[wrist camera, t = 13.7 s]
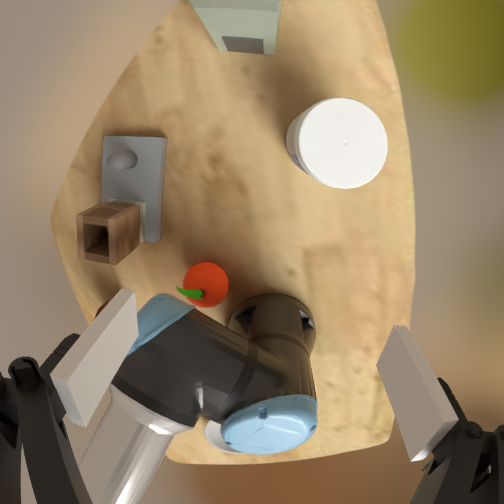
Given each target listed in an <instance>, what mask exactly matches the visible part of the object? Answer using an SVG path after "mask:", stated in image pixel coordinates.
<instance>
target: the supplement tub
mask: <svg viewBox="0 0 504 504" xmlns="http://www.w3.org/2000/svg"><path fill="white" fill-rule="evenodd" d="M286 147H287V151H288V154H289V156H290V158H291V159H292V161H293V162H294V163H295V164H296V165H297V166H298V167H299V168H300V169H302V170H303V171H304V172H306V173H307V174H308V175H310V176H311V177H312V178H314V179H315V180H317V181H319V182H320V183H322V184H325V185H327V186H331V187H336V188H343V189H348V188H355V187H359V186H361V185H363V184H365V183H367V182H369V181H370V180H371V179H373V178H374V177H375V176H376V175H377V174H378V172H379V171H380V170H381V168H382V166H383V164H384V162H385V159H386V155H387V148H388V143H387V135H386V131H385V128H384V126H383V124H382V122H381V120H380V119H379V117H378V116H377V115H376V113H375V112H374V111H373V110H372V109H371V108H369V107H368V106H367V105H365V104H363V103H362V102H360V101H357V100H355V99H351V98H346V97H335V98H328V99H325V100H322V101H319V102H317V103H316V104H314V105H312V106H311V107H309V108H308V109H307V110H305V111H304V112H303V113H301V114H300V115H299V116H297V117H296V118H295V119H294V120H293V121H292V123H291V124H290V126H289V128H288V131H287V135H286Z"/></svg>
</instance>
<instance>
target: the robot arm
mask: <svg viewBox="0 0 504 504" xmlns="http://www.w3.org/2000/svg"><path fill="white" fill-rule="evenodd" d="M315 339H316V328H315V324H314V319H313V317H312V315H311V313H310V311H309V310H308V309H307V307H306V306H305V305H304V304H302V303H301V302H300V301H298V300H296V299H294V298H292V297H290V296H287V295H283V294H273V293H272V294H262V295H258V296H254V297H252V298H250V299H248V300H246V301H244V302H243V303H242V304H240V305H239V306H238V307H237V308H236V309H235V311H234V312H233V314H232V316H231V318H230V321H229V325H228V328H227V327H225V326H224V325H222V324H220V323H219V322H217V321H215V320H214V319H212V318H210V317H208V316H207V315H205V314H203V313H202V312H200V311H199V310H197V309H195V306H194V305H188V304H187V303H185V302H183V301H181V300H179V299H178V298H176V297H174V296H172V295H170V294H167V293H160V294H157V295H155V296H154V297H152V298H151V299H150V300H149V301H148V302H147V303H146V304H145V305H144V306H143V307H142V308H141V309H140V311H139V312H138V313H137V309H136V293H135V291H133V290H128V289H124V288H122V289H121V290H120V291H119V292H118V293H117V294H116V295H115V296H114V297H113V299H112V300H111V301H110V302H109V303H108V304H107V305H106V307H105V308H104V309H103V310H102V311H101V312H100V314H99V315H98V316H97V317H96V318H95V319H94V321H93V322H92V323H91V324H90V325H89V326H88V328H87V329H86V330H85V331H84V333H83V334H82V335H78V334H75V333H73V334H71V335H69V336H68V337H66V338H64V340H63V341H62V342H61V343H60V344H59V346H58V347H57V348H56V349H55V350H54V351H53V353H52V354H51V355H50V356H49V357H48V358H47V359H46V361H45V362H44V363H43V364H42V365H41V367H40V368H39V365H38V363H37V361H36V360H35V359H34V358H31V357H20V358H17V359H15V360H14V361H13V362H12V363H11V364H10V365H9V368H8V372H9V374H10V376H11V379H9V378H3V376H2V374H1V372H0V504H21V484H20V483H21V482H20V481H21V479H20V475H21V448H22V444H23V449H24V454H25V459H26V464H27V468H28V472H29V476H30V480H31V484H32V487H33V491H34V495H35V498H36V501H37V504H138V503H139V501H140V499H141V497H142V496H143V494H144V492H145V490H146V488H147V487H148V485H149V483H150V481H151V479H152V477H153V476H154V474H155V472H156V470H157V468H158V466H159V464H160V462H161V461H162V459H163V457H164V455H165V453H166V451H167V449H168V448H169V446H170V444H171V442H172V440H173V438H174V436H175V435H176V434H178V433H181V432H185V431H188V430H192V429H193V428H194V426H195V424H196V422H197V421H198V419H199V417H200V416H203V417H205V418H207V419H209V420H211V421H213V422H216V423H218V424H220V425H221V427H220V433H221V436H222V439H223V440H224V441H225V443H226V444H227V445H228V446H229V447H231V448H232V449H234V450H237V451H240V452H243V453H248V454H261V455H262V454H273V453H279V452H284V451H287V450H290V449H293V448H295V447H297V446H299V445H301V444H302V443H304V442H305V441H307V440H308V439H309V438H310V437H311V436H312V434H313V433H314V431H315V429H316V427H317V422H318V420H317V409H318V402H317V399H316V392H315V386H314V381H313V375H312V369H311V363H310V356H311V353H312V350H313V347H314V344H315ZM376 366H377V369H378V371H379V374H380V376H381V379H382V381H383V384H384V387H385V389H386V392H387V395H388V397H389V400H390V403H391V405H392V408H393V411H394V414H395V417H396V419H397V422H398V425H399V428H400V431H401V434H402V437H403V439H404V443H405V446H406V449H407V452H408V455H409V458H410V461H417V460H421V459H425V458H426V457H427V456H428V455H429V454H430V453H431V452H432V453H433V455H434V457H433V459H431V460H430V461H429V463H427V464H426V465H425V466H424V467H423V469H422V470H421V471H424V470H425V469H426V468H427V470H426V472H425V474H424V476H423V478H422V480H421V483H420V484H419V486H418V489H417V490H416V492H415V494H414V496H413V498H412V500H411V502H410V504H504V425H500V426H498V428H497V429H496V430H495V431H494V432H485V431H483V429H482V428H481V427H480V426H479V425H478V424H477V423H475V422H472V421H467V419H466V417H465V415H464V413H463V411H462V409H461V407H460V406H459V404H458V402H457V400H455V399H456V398H455V397H454V395H453V394H452V391H451V389H450V388H449V386H448V384H447V383H446V382H445V381H444V380H442V379H441V378H436V376H435V374H434V372H433V371H432V369H431V367H430V365H429V364H428V362H427V360H426V359H425V357H424V355H423V354H422V352H421V350H420V348H419V347H418V345H417V343H416V342H415V340H414V338H413V337H412V335H411V334H410V332H409V330H408V329H407V327H406V326H398V325H394V326H393V328H392V331H391V333H390V335H389V338H388V340H387V342H386V345H385V347H384V349H383V352H382V354H381V356H380V358H379V360H378V362H377V365H376ZM108 387H109V391H110V393H111V401H110V403H109V405H108V407H107V409H106V411H105V413H104V415H103V417H102V418H101V421H100V422H99V424H98V426H97V428H96V430H95V432H94V434H93V436H92V438H91V440H90V442H89V444H88V446H87V448H86V450H85V452H84V454H83V456H82V458H81V460H80V462H79V464H78V466H77V463H76V460H75V457H74V454H73V451H72V448H71V445H70V442H69V438H68V435H67V432H66V428H65V425H64V422H63V420H62V418H63V417H64V415H65V414H67V416H68V418H69V420H70V421H71V422H73V423H76V424H78V425H81V426H83V427H86V426H87V424H88V422H89V420H90V419H91V417H92V415H93V413H94V411H95V409H96V408H97V406H98V404H99V402H100V400H101V399H102V397H103V395H104V393H105V391H106V390H107V388H108ZM490 467H491V473H489V468H490Z"/></svg>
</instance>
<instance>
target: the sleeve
mask: <svg viewBox="0 0 504 504" xmlns="http://www.w3.org/2000/svg"><path fill="white" fill-rule="evenodd" d="M145 211H146V202H140V201H131V200H121V199H109V200H107V201H105V202H103V203H100V204H98V205H96V206H94V207H92V208H89V209H87V210H85V211H83V212H81V213H79V214H77V215H76V216H77V237H78V251H79V258H82V259H87V260H92V261H97V262H102V263H107V264H113V265H117V264H118V263H119V262H120V261H122V260H123V259H124V258H125V257H126V256H127V255H128V254H129V253H130V252H132V251H133V250H134V249H135V248H136V247H137V246H138V245H140V244H141V243H142V242H143V241H144V240H145ZM105 226H108V232H107V230H106V227H105Z"/></svg>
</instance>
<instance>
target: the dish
mask: <svg viewBox="0 0 504 504" xmlns="http://www.w3.org/2000/svg"><path fill="white" fill-rule="evenodd" d="M220 427H221V425H220V424H218V423H216V422H213V421H211V420H209V421H208V422H207V424H206V425H205V429H204V433H205V437H206V439H207V440H208V442H209V443H210V444H211V445H213V446H214V447H215V448H217V449H219V450H221V451H224V452H227V453H233V454H247V453H243V452H240V451H237V450H234V449H232V448H231V447H229V446H228V445H227V444H226V443H225V441H224V440H223V439H222V436H221V433H220Z"/></svg>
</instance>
